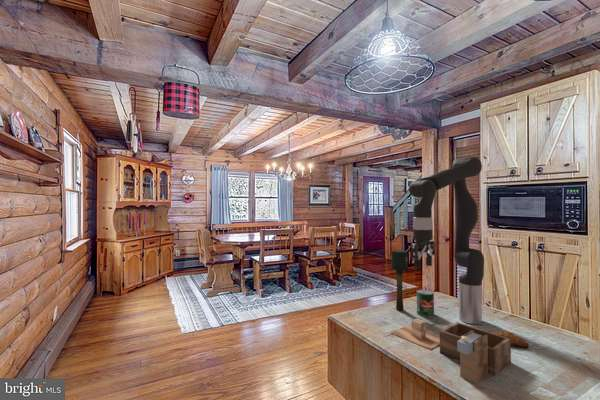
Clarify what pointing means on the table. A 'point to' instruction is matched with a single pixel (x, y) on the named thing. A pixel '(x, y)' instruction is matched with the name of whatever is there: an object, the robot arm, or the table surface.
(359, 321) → the table surface
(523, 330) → the table surface
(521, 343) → the croissant
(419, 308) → the canned tomato
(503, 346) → the toolbox
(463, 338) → the drawer
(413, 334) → the lid
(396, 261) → the stick grenade
